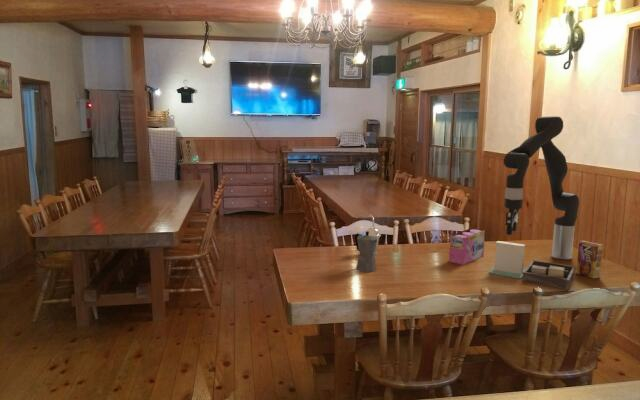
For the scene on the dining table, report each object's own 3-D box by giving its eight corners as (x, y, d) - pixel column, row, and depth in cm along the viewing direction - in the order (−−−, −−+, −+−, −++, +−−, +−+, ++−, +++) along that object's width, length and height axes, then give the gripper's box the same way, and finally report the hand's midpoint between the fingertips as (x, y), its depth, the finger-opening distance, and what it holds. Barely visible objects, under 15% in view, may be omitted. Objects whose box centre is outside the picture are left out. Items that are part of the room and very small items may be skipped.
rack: (530, 270, 227) (531, 259, 227) (573, 277, 218) (574, 266, 217) (522, 281, 212) (523, 270, 211) (568, 289, 202) (569, 277, 201)
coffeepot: (383, 271, 224) (384, 233, 221) (367, 274, 219) (368, 235, 216) (362, 262, 236) (363, 226, 233) (346, 265, 231) (347, 228, 228)
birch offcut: (548, 281, 212) (550, 265, 211) (563, 283, 209) (564, 267, 208) (547, 283, 209) (548, 267, 208) (561, 286, 206) (563, 270, 205)
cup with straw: (362, 255, 250) (363, 216, 247) (365, 250, 258) (366, 213, 255) (378, 256, 247) (380, 218, 244) (381, 251, 256) (383, 214, 253)
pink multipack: (470, 252, 257) (472, 227, 255) (485, 255, 252) (486, 229, 249) (448, 261, 240) (449, 235, 238) (463, 265, 234) (464, 237, 232)
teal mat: (496, 265, 233) (496, 264, 233) (527, 271, 226) (527, 269, 226) (488, 273, 222) (488, 272, 222) (521, 279, 214) (521, 277, 214)
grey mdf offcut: (532, 278, 216) (533, 265, 215) (545, 280, 213) (547, 267, 212) (530, 280, 213) (531, 267, 212) (544, 283, 210) (545, 269, 209)
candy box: (600, 277, 218) (603, 244, 215) (594, 279, 215) (598, 245, 213) (581, 272, 225) (584, 240, 223) (575, 273, 223) (578, 241, 221)
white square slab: (495, 267, 229) (497, 240, 226) (522, 272, 222) (525, 244, 220) (494, 269, 226) (495, 242, 224) (521, 274, 219) (523, 246, 217)
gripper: (508, 194, 226) (506, 228, 229) (501, 198, 214) (498, 234, 217) (525, 196, 222) (523, 230, 225) (519, 200, 210) (516, 237, 213)
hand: (511, 232), depth 221 cm, fingers open, 8 cm apart
